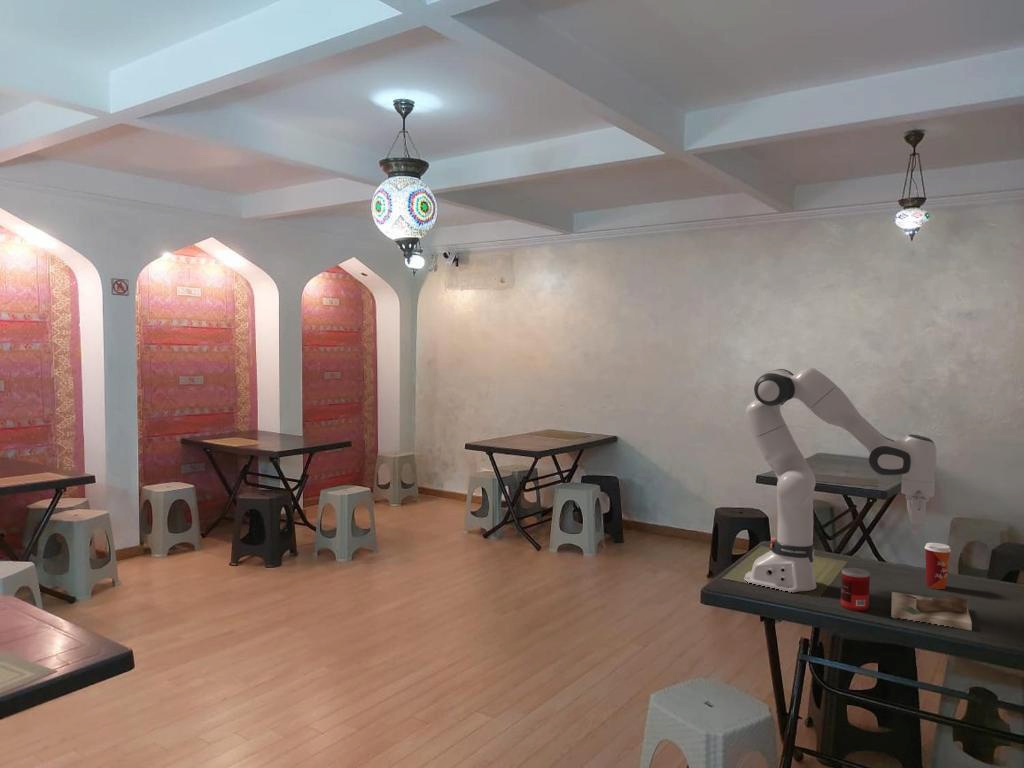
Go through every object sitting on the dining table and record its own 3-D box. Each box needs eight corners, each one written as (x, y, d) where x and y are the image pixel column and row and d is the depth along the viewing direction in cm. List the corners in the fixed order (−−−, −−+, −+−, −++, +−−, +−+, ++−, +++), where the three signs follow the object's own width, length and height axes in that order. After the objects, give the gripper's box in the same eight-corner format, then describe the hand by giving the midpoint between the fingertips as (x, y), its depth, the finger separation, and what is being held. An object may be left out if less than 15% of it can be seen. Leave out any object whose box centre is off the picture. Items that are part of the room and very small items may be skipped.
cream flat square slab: (891, 617, 215) (891, 610, 215) (891, 598, 232) (891, 591, 232) (971, 630, 206) (972, 623, 206) (965, 609, 223) (966, 602, 223)
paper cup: (942, 592, 238) (944, 549, 237) (918, 585, 244) (920, 544, 243) (953, 587, 243) (955, 546, 242) (929, 581, 249) (931, 540, 248)
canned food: (872, 607, 224) (873, 571, 223) (862, 613, 218) (863, 577, 218) (846, 600, 229) (848, 565, 229) (836, 606, 224) (837, 571, 223)
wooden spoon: (959, 606, 218) (959, 594, 218) (971, 612, 213) (971, 600, 213) (912, 607, 217) (913, 595, 217) (923, 613, 212) (924, 601, 212)
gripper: (932, 496, 212) (929, 543, 213) (927, 484, 231) (924, 527, 231) (907, 493, 215) (904, 540, 216) (904, 482, 233) (901, 525, 234)
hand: (914, 533), depth 224 cm, fingers closed
